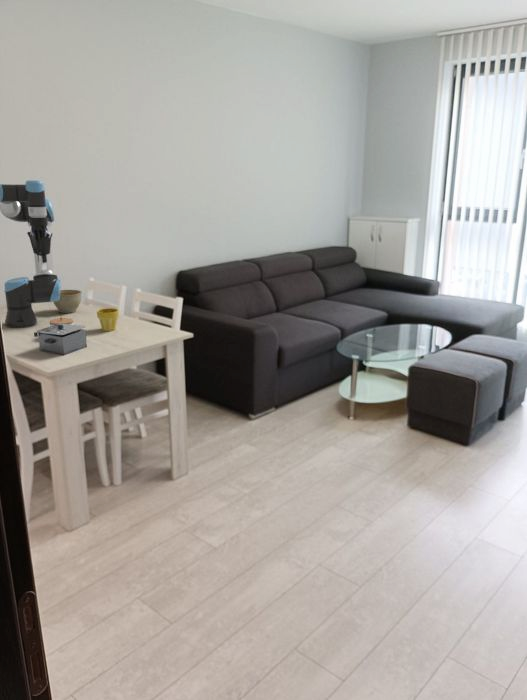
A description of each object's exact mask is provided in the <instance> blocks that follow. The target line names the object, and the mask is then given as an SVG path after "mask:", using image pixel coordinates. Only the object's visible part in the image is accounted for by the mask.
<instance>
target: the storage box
mask: <svg viewBox="0 0 527 700" xmlns="http://www.w3.org/2000/svg"><path fill="white" fill-rule="evenodd" d="M86 331H87V330H86V329H85V328H82V329H79V330H76V331H73V332H70V333H67V334H64V335H56V334H46V333H37V331H34V332H33V336H34V337H35V338H37V337H38V343H39V344H38V345H39V351H40V352H45V353H50V354H55V355H61V356H66V355H69V354H71V353H74V352H75V353H76V352H77V351H79V350H82V349H85V348H87V347H88V343H87V342H88V341H87V332H86Z"/></svg>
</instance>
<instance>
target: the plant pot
mask: <svg viewBox="0 0 527 700" xmlns="http://www.w3.org/2000/svg"><path fill="white" fill-rule="evenodd" d="M119 311H120V310H119V309H117V308H115V307H105V308H100V309H99V308H98V309H97V310H96V315H97V318H98V320H99V324H100V327H101V329H102V331H104V332H111V331H112V332H113V331H115V330H116V329H117V325H118V318H119V317H120V312H119Z"/></svg>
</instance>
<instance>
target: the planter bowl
mask: <svg viewBox="0 0 527 700" xmlns="http://www.w3.org/2000/svg"><path fill="white" fill-rule="evenodd" d="M82 293H83V292H82V291H81V290H79V289H78V290H77V289H60V299H59V301H56V302H53V305H54V306H55V308H56V309H57V310H58V312H59V313H63V314H67V313H68V314H69V313H70V312H71V313H75V312H77V311H78V308H79V306H80V305H81V303H82V302H81V301H82ZM76 310H77V311H76ZM74 311H75V312H74Z"/></svg>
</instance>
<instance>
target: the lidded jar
mask: <svg viewBox="0 0 527 700" xmlns="http://www.w3.org/2000/svg"><path fill="white" fill-rule="evenodd" d="M57 324H71V325H74V319H73V318H71V317H63V316H60V317H58V318H53V319H51V320H49V327H50V326H54V325H57Z"/></svg>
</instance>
